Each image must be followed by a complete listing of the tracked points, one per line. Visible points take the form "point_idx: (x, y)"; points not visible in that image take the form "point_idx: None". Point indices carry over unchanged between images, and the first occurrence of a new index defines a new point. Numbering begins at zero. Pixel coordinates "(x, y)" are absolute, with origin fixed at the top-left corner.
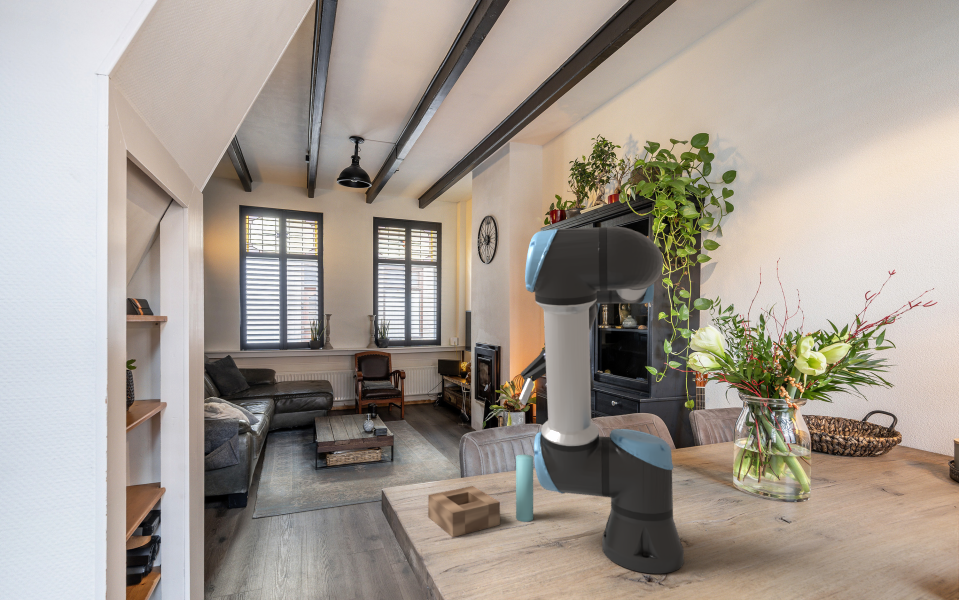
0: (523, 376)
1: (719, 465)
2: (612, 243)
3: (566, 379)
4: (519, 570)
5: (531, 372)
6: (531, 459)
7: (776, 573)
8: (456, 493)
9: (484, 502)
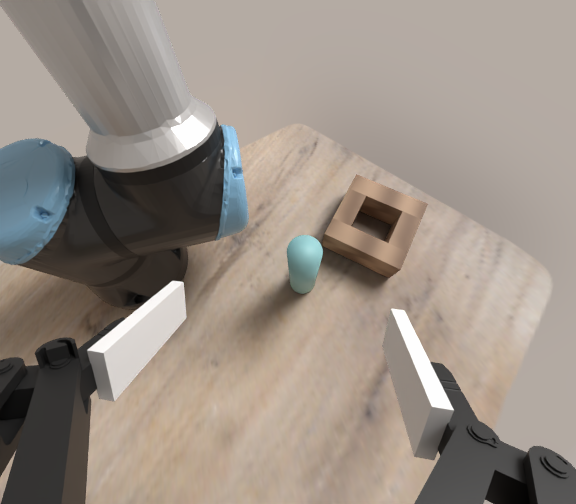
0: (522, 453)
1: None
2: None
3: None
4: (255, 174)
5: (476, 474)
6: (287, 248)
7: (3, 295)
8: (398, 229)
9: (342, 221)
